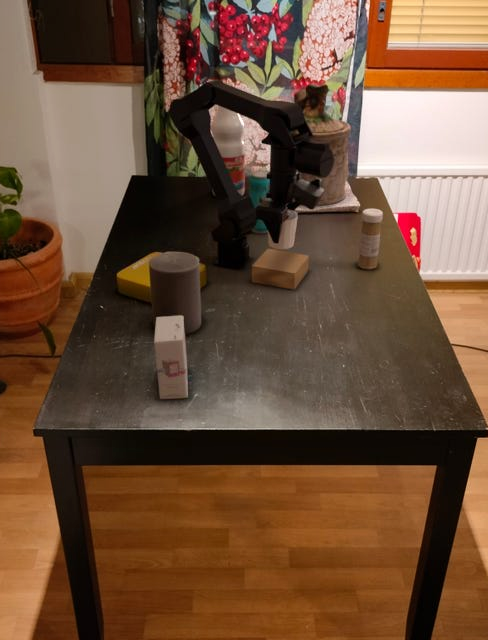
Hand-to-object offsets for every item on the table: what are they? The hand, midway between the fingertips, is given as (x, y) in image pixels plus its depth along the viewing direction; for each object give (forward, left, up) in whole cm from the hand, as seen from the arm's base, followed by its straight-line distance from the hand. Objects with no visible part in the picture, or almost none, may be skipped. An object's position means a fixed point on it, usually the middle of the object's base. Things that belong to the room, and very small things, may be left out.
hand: (280, 237), depth 156 cm
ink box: (-3, -48, -10) cm, 49 cm away
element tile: (-22, -15, -10) cm, 28 cm away
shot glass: (0, 0, -2) cm, 2 cm away
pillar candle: (-12, -28, -10) cm, 32 cm away
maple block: (0, 0, -10) cm, 10 cm away
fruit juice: (-32, +45, -10) cm, 56 cm away
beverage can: (-14, +24, -10) cm, 29 cm away
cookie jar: (-8, +51, -10) cm, 53 cm away
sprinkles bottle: (+17, +13, -10) cm, 24 cm away
